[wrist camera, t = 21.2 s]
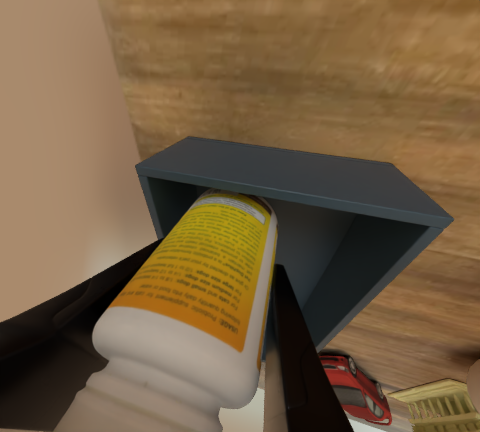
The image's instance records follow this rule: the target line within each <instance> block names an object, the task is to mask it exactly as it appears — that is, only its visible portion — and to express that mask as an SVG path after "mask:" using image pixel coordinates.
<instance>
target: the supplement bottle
mask: <svg viewBox="0 0 480 432" xmlns="http://www.w3.org/2000/svg"><path fill="white" fill-rule="evenodd" d="M277 237H278V221H277V217H276V215H275V212H274V210H273V209H272V207H271V206H270V205H269V203H268V202H267V201H266V200H265V199H264V198H263V197H261V196H255V195H250V194H244V193H238V192H233V191H227V190H221V189H216V188H211V189H209V190H207V191H205V192H204V193H203V194H202V195H201V196H200V197H199V198H198V199H197V200H196V201H195V202H194V204H193V205H192V206H191V207H190V208H189V210H188V211H187V212H186V213H185V215H184V216H183V217H182V218H181V219H180V221H179V222H178V223H177V224H176V225H175V227H174V228H173V229H172V230H171V232H170V233H169V234H168V235H167V236H166V238H165V239H164V240H163V241H162V242H161V244H160V245H159V246H158V247H157V248H156V250H155V251H154V252H153V253H152V254H151V256H150V257H149V258H148V259H147V261H146V262H145V263H144V264H143V266H142V267H141V268H140V269H139V270H138V272H137V273H136V274H135V275H134V277H133V278H132V279H131V280H130V281H129V283H128V284H127V285H126V286H125V288H124V289H123V290H122V291H121V292H120V294H119V295H118V296H117V297H116V298H115V300H114V301H113V302H112V303H111V305H110V306H109V307H108V308H107V309H106V311H105V312H104V313H103V315H102V316H101V317H100V318H99V320H98V321H97V323H96V325H95V327H94V330H93V334H92V341H93V345H94V347H95V349H96V350H97V352H98V353H99V354H101V355H102V356H103V357H104V358H106V359H107V360H109V363H108V364H107V366H106V367H105V368H104V369H103V370H101V371H99V372H96V373H93V374H92V375H91V376H90V377H89V379H88V380H87V382H86V387H85V388H83V389H82V390H80V391H78V392H77V394H76V396H75V399H74V400H73V402H72V404H71V405H70V407H69V409H68V410H67V411H66V413H65V414H64V416H63V417H62V419H61V420H60V422H59V423H58V425H57V426H56V428H55V429H54V430H53V432H222V430H223V427H222V425H221V423H220V421H219V418H218V414H219V410H220V407H222V408H228V409H239V408H242V407H244V406H246V405H247V404H248V403H249V402H250V401H251V400H252V399H253V397H254V395H255V393H256V391H257V387H258V381H259V375H260V369H261V361H262V353H263V346H264V339H265V330H266V323H267V315H268V308H269V300H270V292H271V285H272V278H273V270H274V262H275V254H276V246H277Z"/></svg>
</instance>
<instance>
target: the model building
mask: <svg viewBox="0 0 480 432" xmlns="http://www.w3.org/2000/svg"><path fill="white" fill-rule="evenodd" d="M388 396H390V397H393V398H396V399H397V400H400V401H402V402H405V403H407V405H408V408H409V411H410V414H411V417H412V419H408V420H409V421H410V423H412V424H414V425H415V426H412V425H411V426H412V427H413V428H412V429H413V430H414V431H413V432H480V414H479V413H478V411H477V410H476V408H475V407H474V405H473V403H472V401H471V398H470V396H469V394H468V391H467V384H465V383H462V382H458V381H455V380H452V379H445V380H441V381H437V382H433V383H429V384H425V385H422V386H418V387H414V388H410V389H406V390H402V391H399V392H395V393H391V394H388ZM410 404H411V405H414V406H415V409H416V411H417V414H418V416H419V418H418V419H415V418H414V415H413V412H412V409H411V406H410ZM418 407H420V408H423V410H424V412H425V415H426V418H424V419H422V416H421V413H420V410H419V408H418ZM427 410H429V411H432V413H433V416H434V418H430V417H429V414H428V412H427ZM436 413H439V414H441V417H438V416H437V414H436Z"/></svg>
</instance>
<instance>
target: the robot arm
mask: <svg viewBox="0 0 480 432" xmlns="http://www.w3.org/2000/svg"><path fill="white" fill-rule="evenodd" d="M164 239H165V238H161V239H159V240H157V241H155V242H154V243H152V244H150V245H148V246H147V247H145V248H143V249H141V250H139V251H138V252H136V253H134V254H132V255H131V256H129V257H127V258H125V259H124V260H122V261H120V262H118V263H116V264H115V265H113V266H111V267H109V268H107V269H106V270H104V271H102V272H100V273H98V274H97V275H95V276H93V277H92V278H89V279H88V280H86V281H84V282H82V283H81V284H79V285H77V286H75V287H73V288H71V289H69V290H68V291H66V292H64V293H62V294H60V295H58V296H56V297H54V298H52V299H50V300H48V301H46V302H44V303H41V304H40V305H37V306H35V307H33V308H31V309H29V310H27V311H25V312H23V313H21V314H19V315H17V316H15V317H12V318H10V319H8V320H5V321H3V322H0V432H39V431H43V432H53V430H54V429H55V428H56V426H57V425H58V423H59V422H60V420H61V419H62V417H63V416H64V414H65V413H66V411H67V410H68V409H69V407H70V405H71V404H72V402H73V400H74V399H75V396H76V394H77V392H78V391H80V390H82V389H83V388H85V387H86V382H87V380H88V379H89V377H90V376H91V375H92V374H93V373H96V372H99V371H101V370H103V369H104V368H105V367H106V366H107V364H108V363H109V360H107V359H106V358H104V357H103V356H102V355H101V354H99V353H98V352H97V350H96V349H95V347H94V345H93V341H92V334H93V330H94V327H95V325H96V323H97V321H98V320H99V318H100V317H101V316H102V315H103V313H104V312H105V311H106V309H107V308H108V307H109V306H110V305H111V303H112V302H113V301H114V300H115V298H116V297H117V296H118V295H119V294H120V292H121V291H122V290H123V289H124V288H125V286H126V285H127V284H128V283H129V281H130V280H131V279H132V278H133V277H134V275H135V274H136V273H137V272H138V270H139V269H140V268H141V267H142V266H143V264H144V263H145V262H146V261H147V259H148V258H149V257H150V256H151V254H152V253H153V252H154V251H155V250H156V248H157V247H158V246H159V245H160V244H161V242H162V241H163V240H164ZM264 399H265V400H264V430H263V432H354V431H353V428H352V426H351V424H350V422H349V420H348V418H347V416H346V414H345V412H344V410H343V408H342V406H341V404H340V401H339V399H338V397H337V395H336V393H335V391H334V389H333V387H332V385H331V383H330V381H329V378H328V376H327V374H326V372H325V370H324V368H323V365H322V363H321V360H320V358H319V355H318V353H317V350H316V348H315V345H314V342H313V341H312V337H311V335H310V332H309V330H308V327H307V324H306V322H305V319H304V317H303V314H302V311H301V309H300V306H299V304H298V301H297V298H296V296H295V293H294V290H293V288H292V285H291V283H290V280H289V277H288V275H287V272H286V270H285V267H284V265H282V264H277V263H276V264H275V266H274V270H273V278H272V285H271V292H270V300H269V308H268V315H267V334H266V366H265V398H264Z"/></svg>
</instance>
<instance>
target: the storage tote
mask: <svg viewBox="0 0 480 432" xmlns="http://www.w3.org/2000/svg"><path fill="white" fill-rule="evenodd" d="M135 168H136V171H137V174H138V177H139V180H140V183H141V187H142V190H143V193H144V196H145V199H146V202H147V206H148V209H149V212H150V215H151V218H152V222H153V225H154V228H155V231H156V234H157V238H158V240H159V239H161V238H166V236H167V235H168V234H169V233H170V232H171V230H172V229H173V228H174V227H175V225H176V224H177V223H178V222H179V221H180V219H181V218H182V217H183V216H184V215H185V213H186V212H187V211H188V210H189V208H190V207H191V206H192V205H193V204H194V202H195V201H196V200H197V199H198V198H199V197H200V196H201V195H202V194H203V193H204V192H205V191H207V190H209V189H211V188H216V189H221V190H227V191H233V192H238V193H244V194H250V195H255V196H261V197H263V198H264V199H265V200H266V201H267V202H268V203H269V205H270V206H271V207H272V209H273V210H274V212H275V215H276V217H277V221H278V237H277V246H276V254H275V262H274V266H275V264H276V263H277V264H282V265H284V267H285V270H286V272H287V275H288V277H289V280H290V283H291V285H292V288H293V290H294V293H295V296H296V298H297V301H298V304H299V306H300V309H301V311H302V314H303V317H304V319H305V322H306V324H307V327H308V330H309V332H310V335H311V337H312V341H313V342H314V345H315V348H316V350H317V353H318V352H319V351H320V350H322V349H323V348H324V347H325V346H326V345H327V344H328V343H329V342H330V341H331V340H332V339H333V338H334V337H335V336H336V335H337V334H338V333H339V332H340V331H341V330H342V329H343V328H344V327H345V326H346V325H347V324H348V323H349V322H350V321H351V320H352V319H353V318H354V317H355V316H356V315H357V314H358V313H359V312H360V311H361V310H362V309H363V308H365V307H366V306H367V305H368V304H369V303H370V302H371V301H372V300H373V299H374V298H375V297H376V296H377V295H378V294H379V293H380V292H381V291H382V290H383V289H384V288H385V287H386V286H387V285H388V284H389V283H390V282H391V281H392V280H393V279H394V278H395V277H396V276H397V275H398V274H399V273H400V272H401V271H402V270H403V269H404V268H405V267H406V266H408V265H409V264H410V263H411V262H412V261H413V260H414V259H415V258H416V257H417V256H418V255H419V254H420V253H421V252H422V251H423V250H424V249H425V248H426V247H427V246H428V245H429V244H430V243H431V242H432V241H433V240H434V239H435V238H436V237H437V236H438V235H439V234H440V233H441V232H442V231H443V230H444V229H445V228H446V227H447V226H448V225H450V224H451V223H452V222H453V221H454V218H453V217H452V216H450V215H449V214H448V213H447V212H446V211H445V210H444V209H443V208H441V207H440V206H439V205H438V204H437V203H436V202H435V201H433V200H432V199H431V198H430V197H429V196H428V195H427V194H425V193H424V192H423V191H422V190H421V189H420V188H419V187H418V186H416V185H415V184H414V183H413V182H412V181H411V180H410V179H408V178H407V177H406V176H405V175H404V174H403V173H402V172H400V171H399V170H398V169H397V168H396V167H395V166H394V165H393V164H391V163H384V162H377V161H369V160H362V159H354V158H347V157H339V156H332V155H324V154H317V153H309V152H302V151H294V150H287V149H279V148H272V147H264V146H257V145H249V144H242V143H234V142H227V141H219V140H212V139H204V138H197V137H190V136H188V137H186V138H185V139H183V140H181V141H179V142H177V143H175V144H174V145H172V146H170V147H168V148H166V149H164V150H163V151H161V152H159V153H157V154H155V155H153V156H151V157H150V158H148V159H146V160H144V161H142V162H140V163H139V164H137V165H135ZM266 334H267V323H266V330H265V339H264V346H263V353H262V362H265V363H266Z"/></svg>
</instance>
